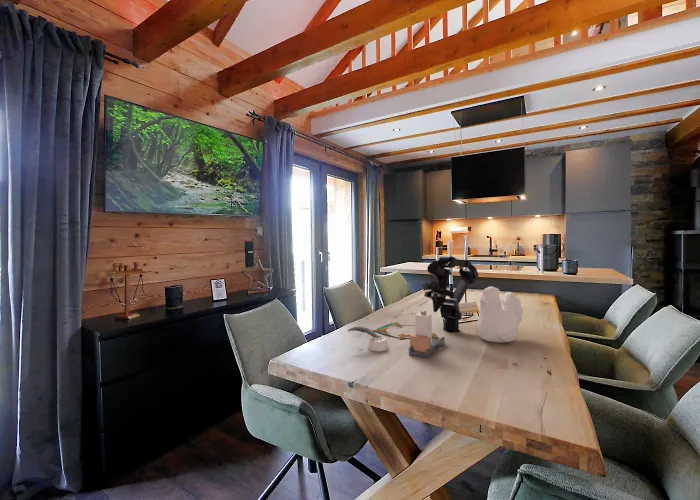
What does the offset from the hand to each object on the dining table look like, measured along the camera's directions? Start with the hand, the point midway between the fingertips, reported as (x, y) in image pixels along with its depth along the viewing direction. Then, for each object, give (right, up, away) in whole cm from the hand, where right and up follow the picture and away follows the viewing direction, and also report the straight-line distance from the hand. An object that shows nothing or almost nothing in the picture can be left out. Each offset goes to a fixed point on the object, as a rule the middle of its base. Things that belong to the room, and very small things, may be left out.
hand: (434, 311), depth 153 cm
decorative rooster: (+29, -12, -6) cm, 32 cm away
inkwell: (-32, -14, -14) cm, 37 cm away
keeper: (-9, -11, -19) cm, 24 cm away
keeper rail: (-7, -13, -15) cm, 21 cm away
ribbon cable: (-14, -12, +12) cm, 22 cm away
